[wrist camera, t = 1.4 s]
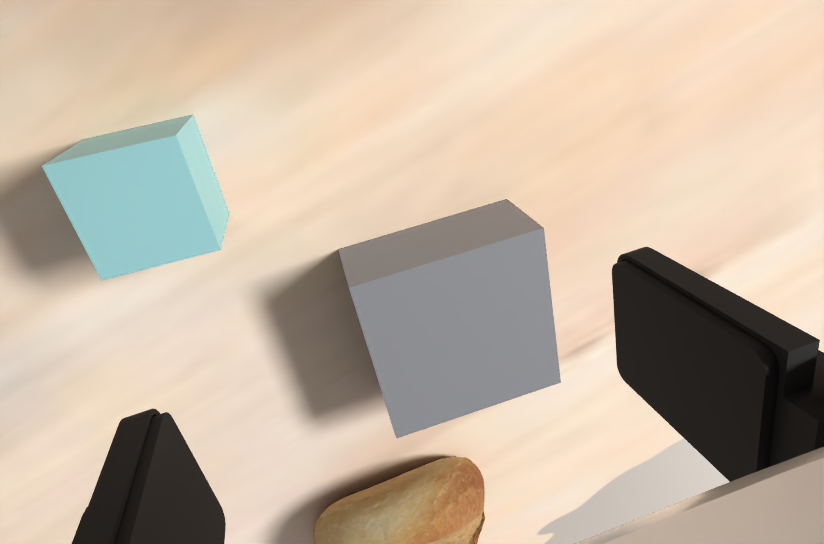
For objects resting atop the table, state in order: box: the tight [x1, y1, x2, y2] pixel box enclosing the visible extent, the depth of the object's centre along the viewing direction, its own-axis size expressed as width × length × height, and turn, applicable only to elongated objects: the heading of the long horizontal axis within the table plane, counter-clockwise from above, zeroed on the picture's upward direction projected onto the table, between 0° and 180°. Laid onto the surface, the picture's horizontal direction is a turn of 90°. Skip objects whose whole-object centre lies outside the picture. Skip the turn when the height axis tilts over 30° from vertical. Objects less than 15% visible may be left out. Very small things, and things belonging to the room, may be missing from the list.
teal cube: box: [42, 115, 229, 280], centre depth 28 cm, size 6×6×6 cm
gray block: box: [338, 199, 561, 438], centre depth 36 cm, size 12×12×6 cm
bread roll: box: [314, 456, 485, 544], centre depth 43 cm, size 10×15×8 cm, turn 113°
